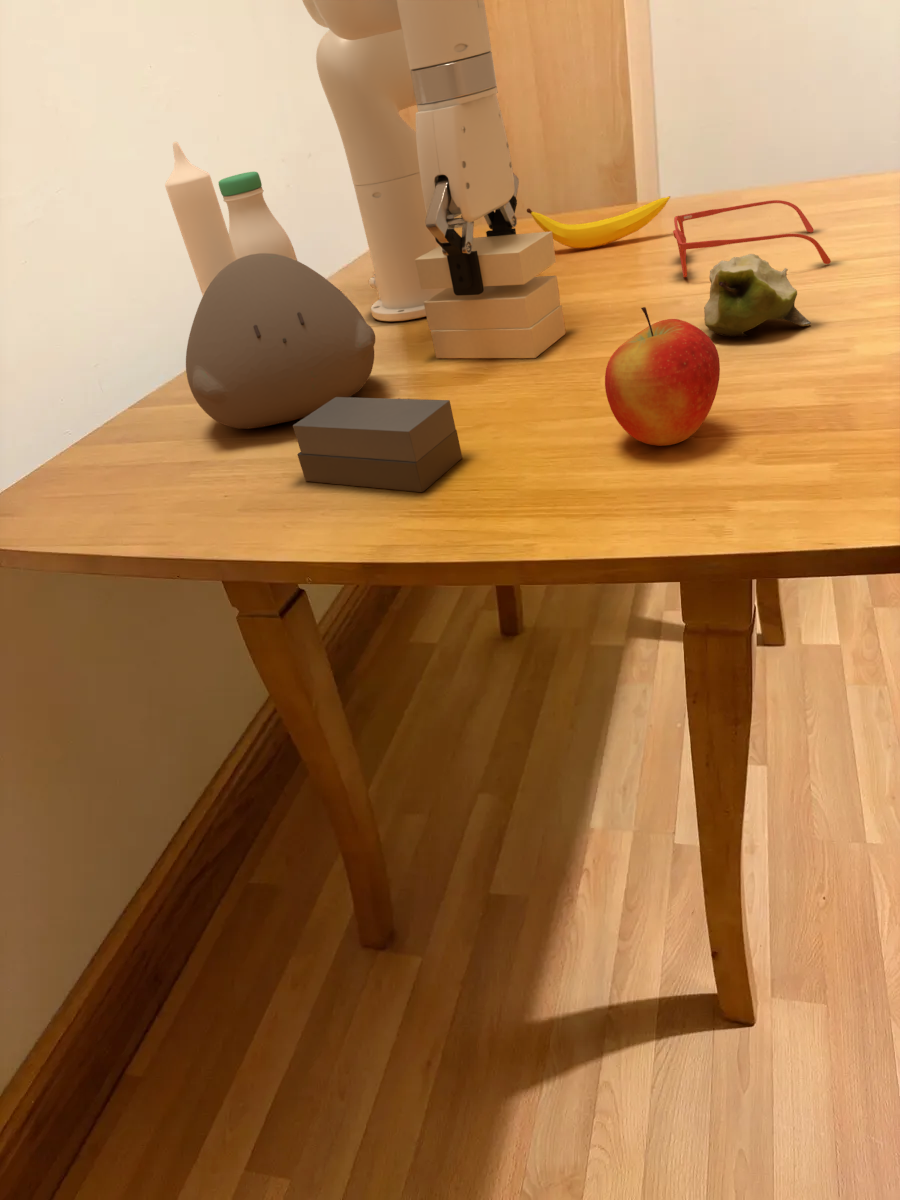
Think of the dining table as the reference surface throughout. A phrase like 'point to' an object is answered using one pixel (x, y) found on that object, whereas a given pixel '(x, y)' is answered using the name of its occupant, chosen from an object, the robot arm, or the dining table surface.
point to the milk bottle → (252, 218)
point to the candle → (199, 219)
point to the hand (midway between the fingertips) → (488, 280)
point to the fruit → (749, 296)
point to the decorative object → (274, 343)
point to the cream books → (497, 320)
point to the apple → (663, 381)
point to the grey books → (378, 442)
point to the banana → (600, 226)
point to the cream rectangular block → (494, 260)
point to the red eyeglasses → (713, 243)
